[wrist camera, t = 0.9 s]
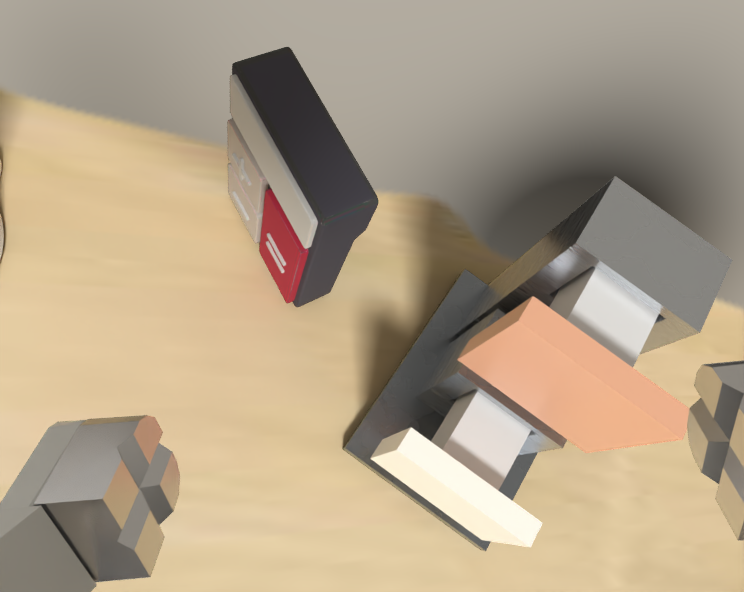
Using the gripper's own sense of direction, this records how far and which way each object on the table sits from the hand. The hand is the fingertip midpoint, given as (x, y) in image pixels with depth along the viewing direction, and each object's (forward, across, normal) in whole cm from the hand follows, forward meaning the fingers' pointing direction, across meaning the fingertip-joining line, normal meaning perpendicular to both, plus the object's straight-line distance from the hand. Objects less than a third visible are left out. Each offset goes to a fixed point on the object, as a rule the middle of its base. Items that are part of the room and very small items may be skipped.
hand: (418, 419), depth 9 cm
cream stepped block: (+22, -1, +25) cm, 33 cm away
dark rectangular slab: (+35, +11, +15) cm, 39 cm away
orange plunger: (+21, -7, +17) cm, 28 cm away
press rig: (+27, -2, +26) cm, 38 cm away
